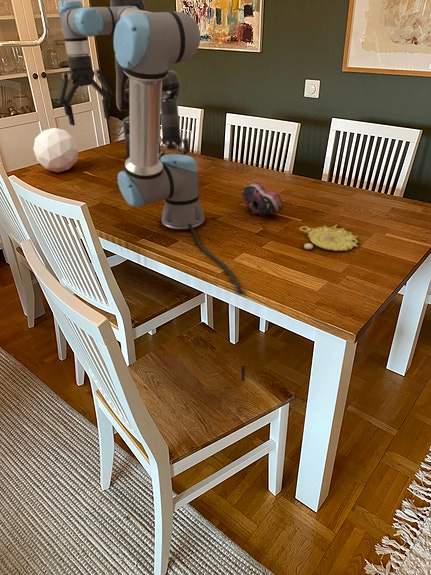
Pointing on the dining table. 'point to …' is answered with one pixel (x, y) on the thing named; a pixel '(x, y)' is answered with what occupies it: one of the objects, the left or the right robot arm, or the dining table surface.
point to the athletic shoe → (261, 200)
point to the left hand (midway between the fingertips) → (173, 162)
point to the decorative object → (330, 238)
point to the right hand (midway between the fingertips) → (90, 121)
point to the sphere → (55, 150)
